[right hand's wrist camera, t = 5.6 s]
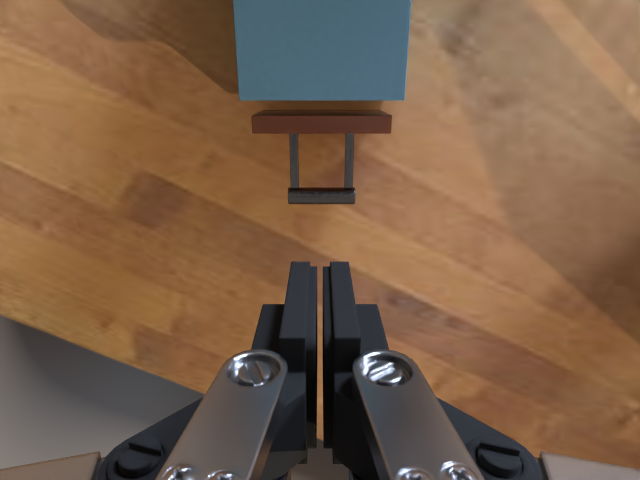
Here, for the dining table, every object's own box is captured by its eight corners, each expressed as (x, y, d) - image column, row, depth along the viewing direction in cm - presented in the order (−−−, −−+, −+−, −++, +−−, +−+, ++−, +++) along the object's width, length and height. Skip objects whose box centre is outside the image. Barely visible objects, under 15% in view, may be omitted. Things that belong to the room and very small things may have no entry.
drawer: (376, 190, 36) (386, 211, 31) (267, 190, 36) (256, 211, 31) (393, -178, 28) (413, -249, 22) (250, -178, 28) (231, -249, 22)
